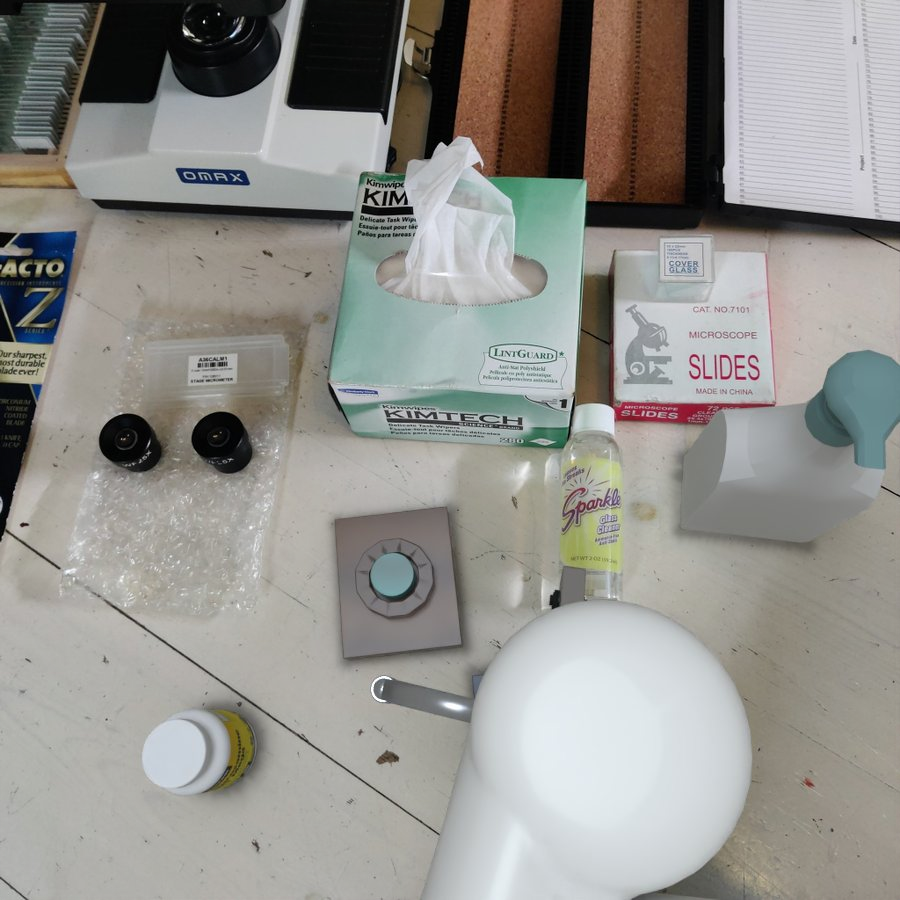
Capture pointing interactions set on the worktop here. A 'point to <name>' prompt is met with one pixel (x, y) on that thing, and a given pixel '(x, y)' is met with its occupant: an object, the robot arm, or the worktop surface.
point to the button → (393, 575)
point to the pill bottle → (199, 751)
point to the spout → (422, 698)
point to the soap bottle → (795, 457)
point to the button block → (419, 612)
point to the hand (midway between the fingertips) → (546, 736)
